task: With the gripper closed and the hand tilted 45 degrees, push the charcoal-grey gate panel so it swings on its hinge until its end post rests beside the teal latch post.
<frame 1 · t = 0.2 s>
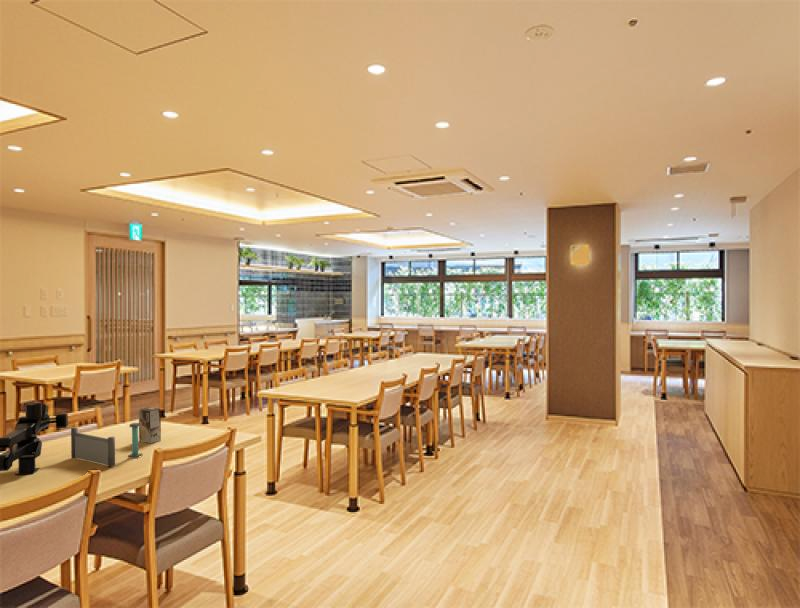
hand: (50, 418, 243), 16 cm above the table, tool horizontal, fingers open, 9 cm apart
gate: (92, 446, 232), point 7 cm above the table, hinge at -25.0°
latch post: (135, 456, 240), on the table
coffee box: (150, 441, 266), on the table
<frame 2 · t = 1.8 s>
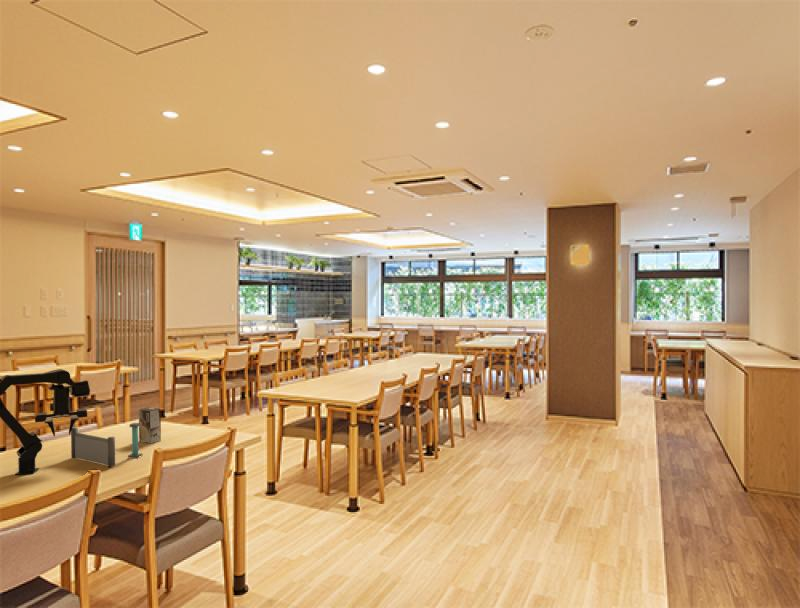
hand: (62, 435, 228), 13 cm above the table, tool pointing down, fingers open, 5 cm apart
nothing on the table moved.
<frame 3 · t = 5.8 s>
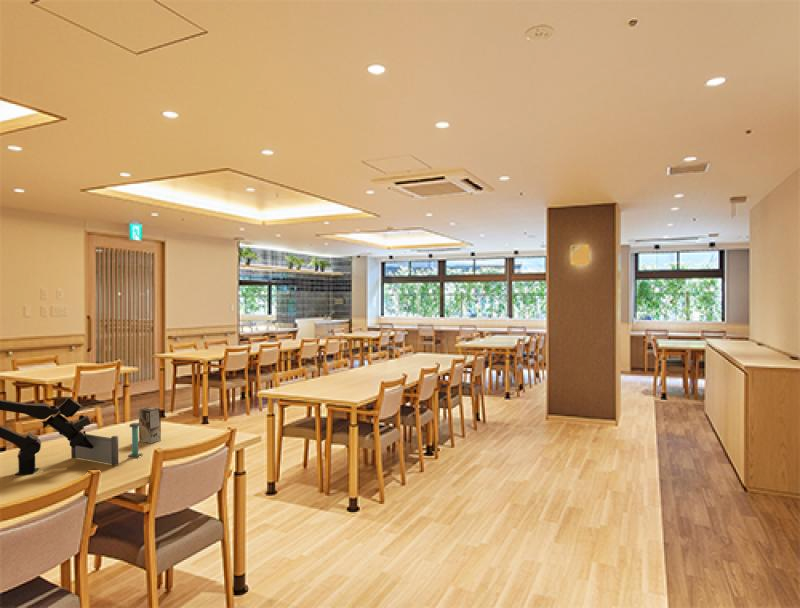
hand: (92, 447, 232), 7 cm above the table, tool tilted 45°, fingers closed
gate: (94, 445, 233), point 7 cm above the table, hinge at -21.5°, touching gripper
everything else where it was.
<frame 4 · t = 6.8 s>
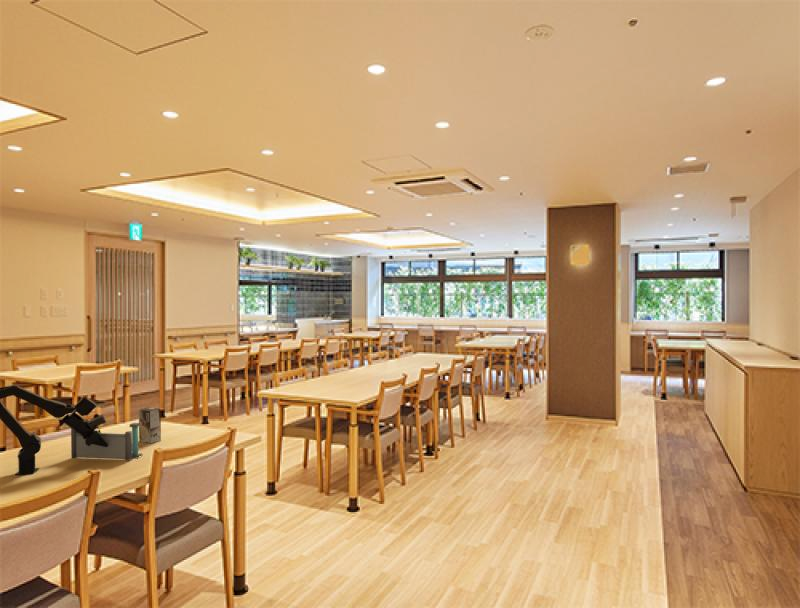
hand: (107, 446, 235), 6 cm above the table, tool tilted 45°, fingers closed
gate: (101, 443, 237), point 7 cm above the table, hinge at -4.4°, touching gripper
everything else where it was.
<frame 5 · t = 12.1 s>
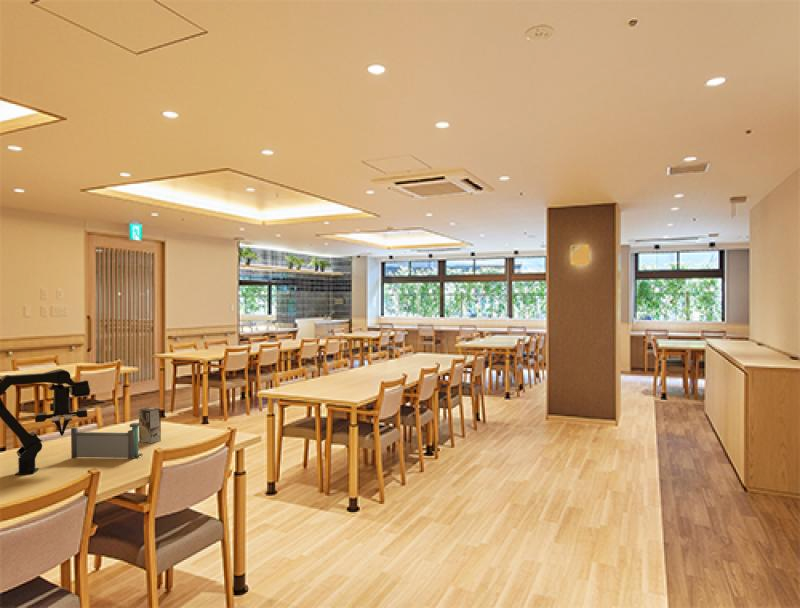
hand: (62, 435, 228), 13 cm above the table, tool pointing down, fingers closed
gate: (102, 442, 238), point 7 cm above the table, hinge at 0.3°
everything else where it was.
at the end: gate at +0° (first picture: -25°); coffee box moved 0.2 cm from its start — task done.
